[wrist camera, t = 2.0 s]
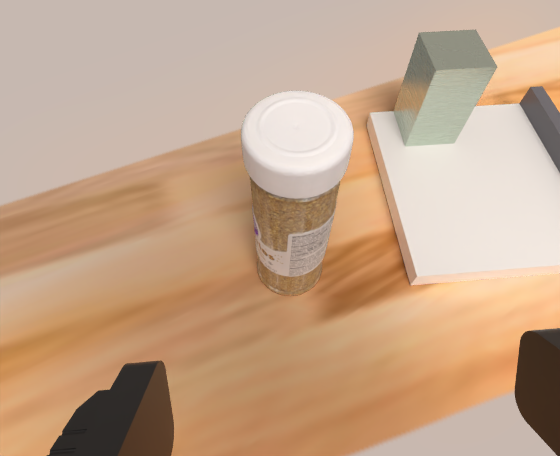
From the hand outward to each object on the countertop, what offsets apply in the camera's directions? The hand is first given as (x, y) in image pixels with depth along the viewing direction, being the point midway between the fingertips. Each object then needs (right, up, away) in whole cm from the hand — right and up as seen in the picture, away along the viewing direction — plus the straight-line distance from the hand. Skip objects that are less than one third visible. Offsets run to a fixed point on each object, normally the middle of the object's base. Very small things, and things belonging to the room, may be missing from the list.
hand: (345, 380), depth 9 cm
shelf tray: (+14, +6, +21) cm, 26 cm away
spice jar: (-1, +1, +18) cm, 18 cm away
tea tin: (+10, +12, +23) cm, 28 cm away
